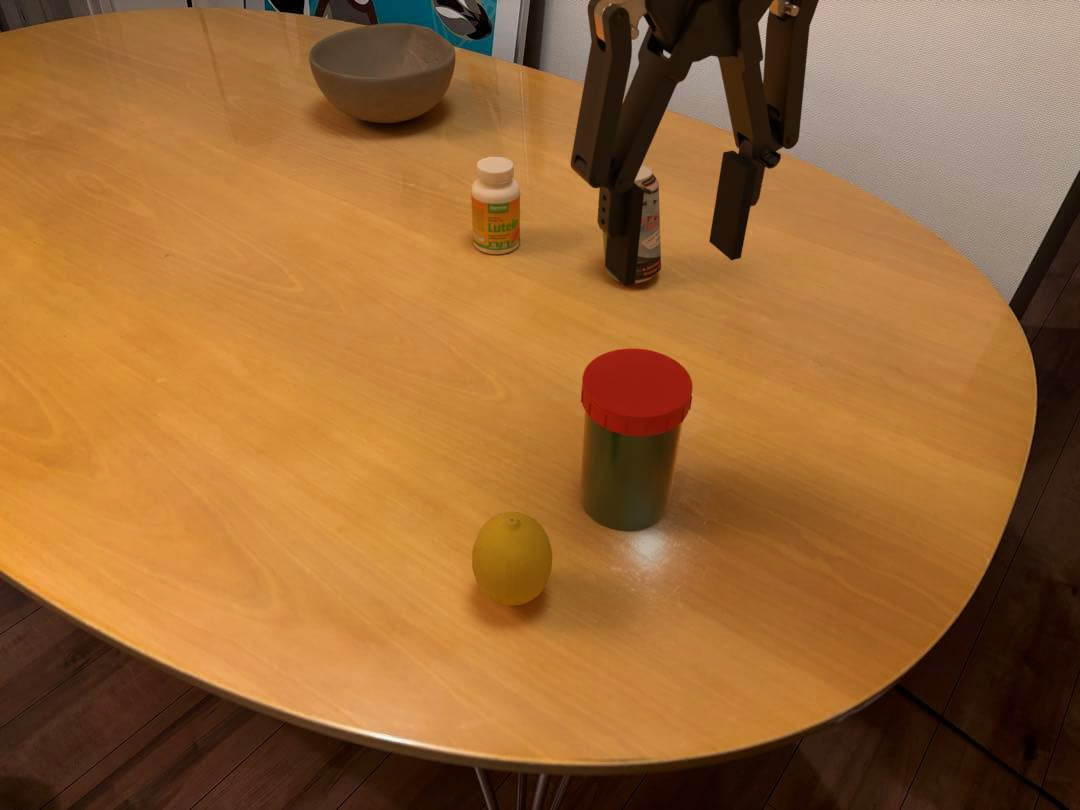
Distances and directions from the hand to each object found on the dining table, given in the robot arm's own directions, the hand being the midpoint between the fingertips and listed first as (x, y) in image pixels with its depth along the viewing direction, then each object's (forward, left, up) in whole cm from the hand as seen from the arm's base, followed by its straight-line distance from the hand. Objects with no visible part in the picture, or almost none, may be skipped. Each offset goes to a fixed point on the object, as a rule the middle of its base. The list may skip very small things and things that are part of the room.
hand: (673, 261), depth 59 cm
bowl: (+72, +37, -21) cm, 84 cm away
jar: (-2, +2, -21) cm, 21 cm away
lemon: (-12, +10, -21) cm, 26 cm away
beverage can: (+32, +2, -21) cm, 39 cm away
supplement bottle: (+37, +17, -21) cm, 46 cm away
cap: (-2, +2, -9) cm, 10 cm away
